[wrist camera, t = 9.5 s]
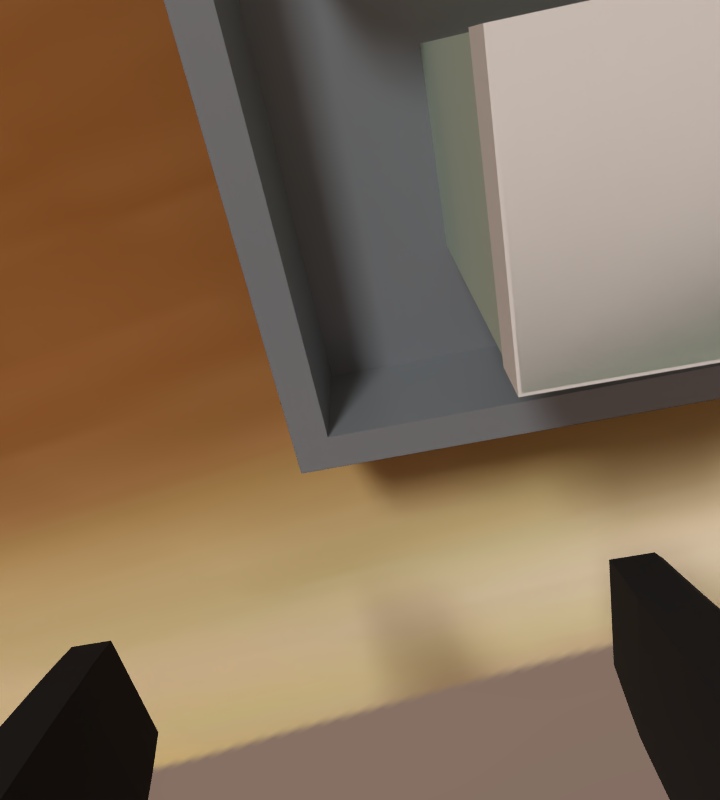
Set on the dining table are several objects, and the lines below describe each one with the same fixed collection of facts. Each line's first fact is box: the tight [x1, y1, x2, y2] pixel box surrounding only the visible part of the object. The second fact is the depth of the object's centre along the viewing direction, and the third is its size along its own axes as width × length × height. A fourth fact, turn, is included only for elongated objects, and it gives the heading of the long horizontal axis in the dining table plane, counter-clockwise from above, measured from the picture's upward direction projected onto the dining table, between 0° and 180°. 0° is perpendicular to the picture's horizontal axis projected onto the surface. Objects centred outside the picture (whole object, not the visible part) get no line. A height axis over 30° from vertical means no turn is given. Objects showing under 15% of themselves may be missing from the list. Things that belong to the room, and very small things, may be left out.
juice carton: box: [420, 0, 720, 397], centre depth 11 cm, size 4×4×8 cm
